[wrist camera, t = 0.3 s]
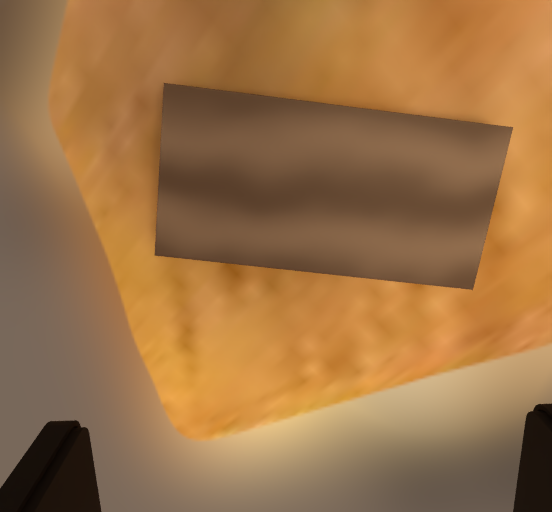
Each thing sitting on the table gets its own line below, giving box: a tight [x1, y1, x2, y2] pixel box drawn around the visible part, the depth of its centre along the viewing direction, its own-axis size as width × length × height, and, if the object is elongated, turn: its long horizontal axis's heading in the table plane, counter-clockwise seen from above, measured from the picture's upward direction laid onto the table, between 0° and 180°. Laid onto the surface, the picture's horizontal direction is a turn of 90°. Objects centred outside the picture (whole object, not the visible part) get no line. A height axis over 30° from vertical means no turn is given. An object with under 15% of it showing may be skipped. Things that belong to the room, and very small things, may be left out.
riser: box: [155, 83, 513, 290], centre depth 36 cm, size 12×24×4 cm, turn 83°
